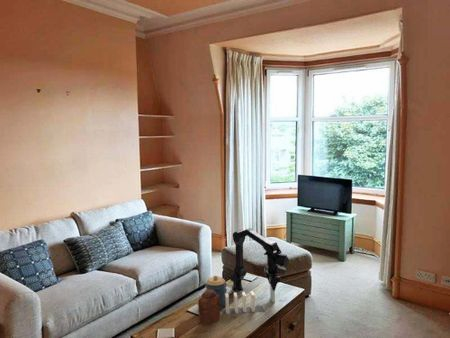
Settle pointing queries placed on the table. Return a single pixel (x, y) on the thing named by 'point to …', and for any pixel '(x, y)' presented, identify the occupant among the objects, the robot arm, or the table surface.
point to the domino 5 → (272, 294)
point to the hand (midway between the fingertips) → (272, 287)
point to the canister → (217, 288)
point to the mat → (240, 310)
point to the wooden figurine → (209, 307)
